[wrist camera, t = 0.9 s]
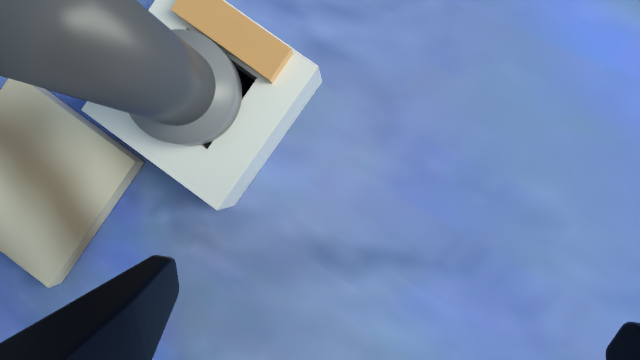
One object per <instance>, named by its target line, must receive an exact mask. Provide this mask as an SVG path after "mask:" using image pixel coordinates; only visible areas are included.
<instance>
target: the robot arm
mask: <svg viewBox="0 0 640 360" xmlns="http://www.w3.org/2000/svg"><path fill="white" fill-rule="evenodd" d="M178 293H179V282H178V275H177V268H176V263H175V260H174V259H173V258H172V257H167V256H160V255H154V256H151V257H149V258H147V259H146V260H144V261H142V262H140V263H139V264H137V265H135V266H133V267H132V268H130V269H128V270H126V271H125V272H123V273H121V274H120V275H118V276H116V277H114V278H113V279H111V280H109V281H107V282H106V283H104V284H102V285H100V286H99V287H97V288H95V289H93V290H92V291H90V292H88V293H86V294H85V295H83V296H81V297H80V298H78V299H76V300H74V301H73V302H71V303H69V304H67V305H66V306H64V307H62V308H60V309H59V310H57V311H55V312H53V313H52V314H50V315H48V316H46V317H45V318H43V319H41V320H40V321H38V322H36V323H34V324H33V325H31V326H29V327H27V328H26V329H24V330H22V331H20V332H19V333H17V334H15V335H13V336H12V337H10V338H8V339H6V340H5V341H3V342H1V343H0V360H152V358H153V356H154V353H155V351H156V349H157V346H158V344H159V341H160V339H161V336H162V334H163V331H164V329H165V326H166V324H167V321H168V319H169V317H170V314H171V312H172V309H173V307H174V304H175V302H176V299H177V297H178ZM606 360H640V323H637V322H627V323H625V324H623V326H622V327H621V328H620V330H619V331H618V332H617V334H616V335H615V337H614V338H613V340H612V341H611V342H610V344H609V345H608V347H607V349H606Z"/></svg>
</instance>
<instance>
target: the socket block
mask: <svg viewBox="0 0 640 360" xmlns="http://www.w3.org/2000/svg"><path fill="white" fill-rule="evenodd" d="M148 11H149V12H151V13H152V14H153V15H154V16H155V17H157V18H158V19H159V20H160V21H161V22H163V23H164V24H165V25H166V26H167V27H168V28H170V29H171V30H173V29H184V30H190V31H194V32H197V33H199V34H201V35H204V36H205V37H207V38H208V39H210V40H211V41H212V42H214V43H215V44H216V45H217V46H218V47H219V48H220V49H221V50H222V51H223V52H224V53H225V54H226V55H227V56H228V58H229V59H230V60H231V61H232V63H233V64H234V65H235V67H236V68H237V69H239V70H240V71H241V72H243V73H244V74H246V75H247V76H248V77H250V78H251V79H253V80H254V81H255V82H254V83H253V84H252V86H251V87H250V89H249V90H248V92H247V93H246V95H245V96H244V97H243V99H242V100H241V106H240V109H239V112H238V114H237V117H236V119H235V120H234V122H233V124H232V125H231V126H230V127H229V129H228V130H227V131H226V132H225V133H224V134H222V135H221V136H220V137H218V138H217V139H215V140H213V142H212V143H211V142H208V143H206V144H202V145H195V146H185V145H179V144H174V143H169V142H164V141H161V140H158V139H155V138H153V137H151V136H150V135H148V134H146V133H145V132H144V131H143V130H141V129H140V128H139V127H138V126H137V125H136V123H135V122H134V121H133V119H132V118H131V116H130V115H129V113H126V112H123V111H120V110H116V109H113V108H109V107H106V106H102V105H99V104H95V103H92V102H89V101H87V102H86V104H85V105H84V107H83V108H82V109H81V110H82V111H83V112H85V113H86V114H87V115H89V116H90V117H91V118H93V119H94V120H95V121H97V122H98V123H99V124H101V125H102V126H103V127H105V128H106V129H108V130H109V131H110V132H112V133H113V134H114V135H116V136H117V137H118V138H120V139H121V140H122V141H124V142H125V143H126V144H128V145H129V146H131V147H132V148H133V149H135V150H136V151H137V152H139V153H140V154H141V155H143V156H144V157H145V158H147V159H148V160H149V161H151V162H152V163H154V164H155V165H156V166H158V167H159V168H160V169H162V170H163V171H164V172H166V173H167V174H168V175H170V176H171V177H172V178H174V179H175V180H177V181H178V182H179V183H181V184H182V185H183V186H185V187H186V188H187V189H189V190H190V191H191V192H193V193H194V194H195V195H197V196H198V197H200V198H201V199H202V200H204V201H205V202H206V203H208V204H209V205H210V206H212V207H213V208H214V209H216V210H220V209H224V208H228V207H231V206H235V204H236V203H237V202H238V200H239V199H240V197H241V196H242V194H243V193H244V192H245V190H246V189H247V187H248V186H249V185H250V183H251V182H252V180H253V179H254V178H255V176H256V175H257V173H258V172H259V170H260V169H261V168H262V166H263V165H264V163H265V162H266V161H267V159H268V158H269V156H270V155H271V154H272V152H273V151H274V149H275V148H276V146H277V145H278V144H279V142H280V141H281V139H282V138H283V137H284V135H285V134H286V132H287V131H288V130H289V128H290V127H291V125H292V124H293V122H294V121H295V120H296V118H297V117H298V115H299V114H300V113H301V111H302V110H303V108H304V107H305V106H306V104H307V103H308V101H309V100H310V98H311V97H312V96H313V94H314V93H315V91H316V90H317V89H318V87H319V86H320V84H321V83H322V79H321V75H320V70H319V66H317V65H316V64H314V63H313V62H311V61H310V60H309V59H307V58H306V57H304V56H303V55H302V54H300V53H299V52H297V51H296V50H294V49H293V48H292V47H290V46H289V45H287V44H286V43H284V42H283V41H282V40H280V39H279V38H277V37H276V36H275V35H273V34H272V33H270V32H269V31H267V30H266V29H265V28H263V27H262V26H260V25H259V24H258V23H256V22H255V21H253V20H252V19H250V18H249V17H248V16H246V15H245V14H243V13H242V12H240V11H239V10H238V9H236V8H235V7H233V6H232V5H231V4H229V3H228V2H226V1H225V0H155V1H154V3H153V4H152V6H151V7H150V9H149V10H148Z"/></svg>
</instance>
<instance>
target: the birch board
mask: <svg viewBox="0 0 640 360" xmlns="http://www.w3.org/2000/svg"><path fill="white" fill-rule="evenodd" d="M144 163H145V162H144V161H142V160H141V159H140V158H138V157H137V156H136V155H134V154H133V153H132V152H130V151H129V150H128V149H126V148H125V147H123V146H122V145H121V144H119V143H118V142H117V141H115V140H114V139H113V138H111V137H110V136H109V135H107V134H106V133H105V132H103V131H102V130H101V129H99V128H98V127H96V126H95V125H94V124H92V123H91V122H90V121H88V120H87V119H86V118H84V117H83V116H82V115H80V114H79V113H78V112H76V111H75V110H73V109H72V108H71V107H69V106H68V105H67V104H65V103H64V102H63V101H61V100H60V99H59V98H57V97H56V96H55V95H53V94H52V93H50V92H49V91H48V90H46V89H44V88H40V87H37V86H34V85H30V84H27V83H23V82H20V81H16V80H13V79H9V78H8V80H7V81H6V83H5V84H4V86H3V87H2V89H1V90H0V251H1V252H2V253H4V254H5V255H6V256H8V257H9V258H10V259H12V260H13V261H14V262H15V263H17V264H18V265H19V266H21V267H22V268H23V269H24V270H26V271H27V272H28V273H30V274H31V275H32V276H34V277H35V278H36V279H37V280H39V281H40V282H41V283H43V284H44V285H45V286H46V287H48V288H50V287H52V286H55V285H58V284H60V283H62V282H63V280H64V279H65V277H66V276H67V274H68V273H69V271H70V270H71V269H72V267H73V266H74V264H75V263H76V261H77V260H78V258H79V257H80V255H81V254H82V253H83V251H84V250H85V248H86V247H87V245H88V244H89V242H90V241H91V240H92V238H93V237H94V235H95V234H96V232H97V231H98V229H99V228H100V226H101V225H102V224H103V222H104V221H105V219H106V218H107V216H108V215H109V213H110V212H111V211H112V209H113V208H114V206H115V205H116V203H117V202H118V200H119V199H120V197H121V196H122V195H123V193H124V192H125V190H126V189H127V187H128V186H129V184H130V183H131V181H132V180H133V179H134V177H135V176H136V174H137V173H138V171H139V170H140V168H141V167H142V166H143V164H144Z"/></svg>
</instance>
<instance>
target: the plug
mask: <svg viewBox="0 0 640 360" xmlns="http://www.w3.org/2000/svg"><path fill="white" fill-rule="evenodd" d="M0 76H3V77H6V78H9V79H13V80H16V81H20V82H23V83H27V84H30V85H34V86H37V87H40V88H44V89H47V90H51V91H54V92H58V93H61V94H65V95H68V96H71V97H75V98H78V99H82V100H85V101H89V102H92V103H95V104H99V105H102V106H106V107H109V108H113V109H116V110H120V111H123V112H126V113H129V115H130V116H131V118H132V119H133V121H134V122H135V123H136V125H137V126H138V127H139V128H140V129H141V130H143V131H144V132H145V133H146V134H148V135H150V136H151V137H153V138H155V139H158V140H161V141H164V142H169V143H174V144H179V145H185V146H195V145H202V144H206V143H208V142H211V141H213V140H215V139H217V138H218V137H220V136H221V135H222V134H224V133H225V132H226V131H227V130H228V129H229V127H230V126H231V125H232V124H233V122H234V120H235V119H236V117H237V114H238V112H239V109H240V106H241V100H242V99H243V96H242V85H241V80H240V77H239V74H238V71H237V69H236V67H235V65H234V64H233V63H232V61H231V60H230V59H229V58H228V56H227V55H226V54H225V53H224V52H223V51H222V50H221V49H220V48H219V47H218V46H217V45H216V44H215V43H214V42H212V41H211V40H210V39H208V38H207V37H205V36H204V35H201V34H199V33H197V32H194V31H190V30H184V29H173V30H171V29H170V28H168V27H167V26H166V25H165V24H164V23H163V22H161V21H160V20H159V19H158V18H157V17H155V16H154V15H153V14H152V13H151V12H149V11H148V10H147V9H146V8H145V7H144V6H142V5H141V4H140V3H139V2H138V1H136V0H0Z"/></svg>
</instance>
